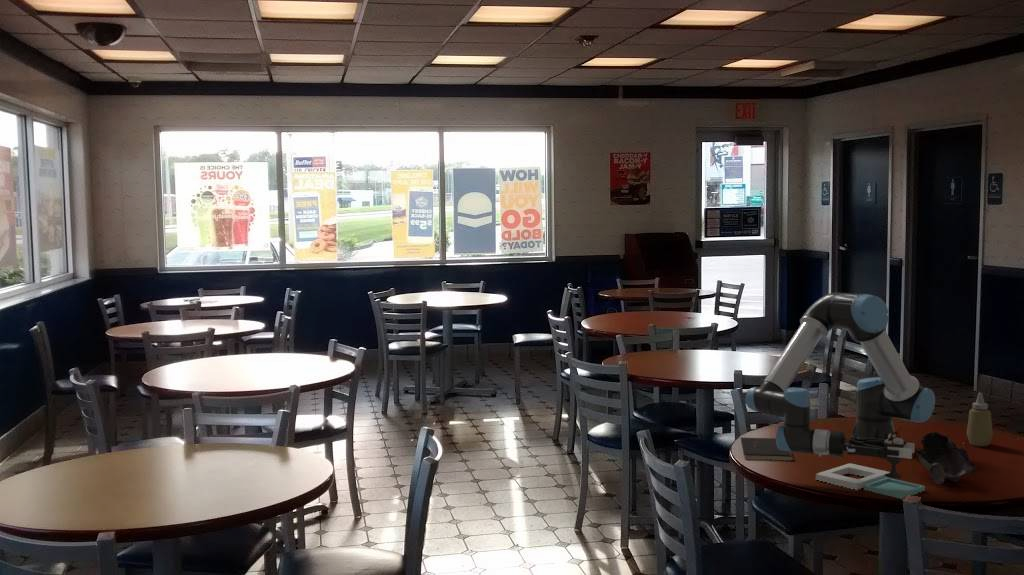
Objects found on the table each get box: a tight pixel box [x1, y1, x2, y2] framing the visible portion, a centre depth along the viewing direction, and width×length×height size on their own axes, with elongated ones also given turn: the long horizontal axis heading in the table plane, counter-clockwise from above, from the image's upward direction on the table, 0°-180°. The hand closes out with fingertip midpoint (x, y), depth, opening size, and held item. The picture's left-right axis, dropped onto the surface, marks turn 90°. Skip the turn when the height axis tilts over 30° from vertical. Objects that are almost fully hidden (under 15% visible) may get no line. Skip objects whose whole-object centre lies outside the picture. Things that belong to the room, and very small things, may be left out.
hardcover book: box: [740, 437, 795, 461], centre depth 323 cm, size 16×23×2 cm
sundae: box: [882, 425, 907, 479], centre depth 275 cm, size 7×7×15 cm
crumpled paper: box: [916, 431, 976, 485], centre depth 285 cm, size 14×15×20 cm
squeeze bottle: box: [966, 392, 994, 447], centre depth 324 cm, size 8×8×18 cm
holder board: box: [815, 462, 891, 491], centre depth 287 cm, size 18×14×2 cm
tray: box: [863, 477, 926, 500], centre depth 276 cm, size 12×12×1 cm
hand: (912, 451), depth 272 cm, fingers closed on sundae, 6 cm apart
